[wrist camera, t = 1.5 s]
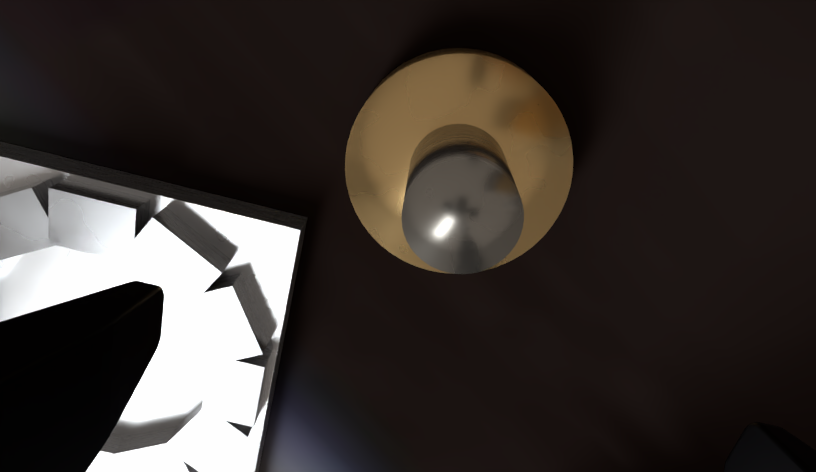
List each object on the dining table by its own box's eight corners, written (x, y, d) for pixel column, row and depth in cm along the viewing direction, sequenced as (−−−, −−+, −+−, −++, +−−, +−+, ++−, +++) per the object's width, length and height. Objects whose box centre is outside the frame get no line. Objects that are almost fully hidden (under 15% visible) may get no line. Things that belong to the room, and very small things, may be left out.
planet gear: (591, 78, 19) (654, 117, 13) (522, 268, 21) (550, 366, 16) (378, 21, 18) (352, 37, 13) (335, 222, 21) (299, 305, 16)
